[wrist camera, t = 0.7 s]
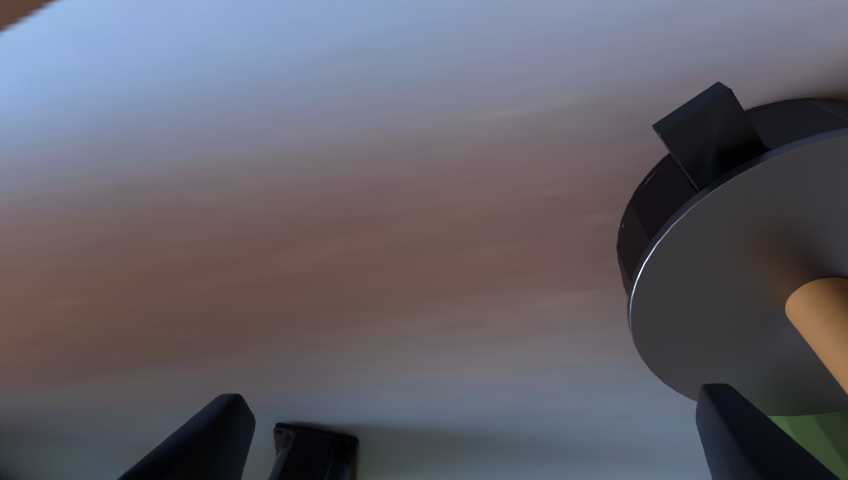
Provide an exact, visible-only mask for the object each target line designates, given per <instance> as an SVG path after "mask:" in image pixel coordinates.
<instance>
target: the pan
mask: <svg viewBox="0 0 848 480" xmlns="http://www.w3.org/2000/svg"><path fill="white" fill-rule="evenodd" d="M652 127H653V129H654V130H655V132H656V133H657V134H658V136H659V137H660V139H661V140H662V142H663V143H664V144H665V146H666V147H667V149H668V150H669V152H670V153H669V154H668V155H667V156H665V157H664V158H663V159H662V160H661V161H660V162H659V163H658V164H657V165H656V166H655V167H654V168H653V169H652V170H651V171H650V172H649V174H648V175H647V176H646V177H645V178H644V180H643V181H642V183H641V184H640V185H639V187H638V188H637V189H636V191H635V193H634V194H633V196H632V198H631V200H630V201H629V203H628V205H627V207H626V210H625V212H624V215H623V217H622V220H621V224H620V228H619V233H618V241H617V254H618V263H619V267H620V270H621V274H622V280H623V285H624V288H625V290H626V293H627V296H628V292H629V289H630V285H631V281H632V278H633V274H634V272H635V270H636V267H637V265H638V263H639V261H640V259H641V256H642V255H643V253H644V252H645V250H646V248H647V247H648V245H649V244H650V242H651V240H652V239H653V238H654V236H655V235H656V234H657V233H658V231H659V230H660V229H661V228H662V227H663V225H664V224H665V223H666V222H667V221H668V219H670V218H671V217H672V216H673V215H674V214H675V213H676V212H677V211H678V210H679V209H680V208H681V207H682V206H683V205H684V204H685V203H686V202H687V201H689V200H690V199H691V198H692V197H694V196H695V195H696V194H698V193H699V192H700V191H701V190H703V189H704V188H705V187H706V186H708V185H709V184H711V183H712V182H714V181H715V180H717V179H719V178H720V177H722V176H723V175H725V174H726V173H728V172H730V171H731V170H733V169H734V168H736V167H738V166H740V165H742V164H744V163H746V162H748V161H750V160H752V159H754V158H756V157H758V156H760V155H762V154H764V153H767V152H769V151H772V150H774V149H777V148H779V147H782V146H784V145H787V144H789V143H792V142H795V141H798V140H801V139H805V138H808V137H811V136H815V135H818V134H821V133H825V132H829V131H834V130H840V129H845V128H848V101H844V100H837V99H823V98H806V99H797V100H787V101H781V102H776V103H771V104H767V105H762V106H758V107H755V108H752V109H749V110H746V111H744V110H743V108H742V107H741V105H740V103H739V102H738V100H737V98H736V97H735V95H734V93H733V92H732V90H731V89H730V88H728V87H727V86H725V85H723V84H722V83H720V82H717V83H715V84H714V85H712V86H711V87H709V88H708V89H706V90H705V91H703V92H702V93H700V94H699V95H697V96H696V97H694V98H693V99H691V100H690V101H688V102H687V103H685V104H684V105H682V106H681V107H679V108H678V109H676V110H675V111H673V112H672V113H670V114H669V115H667V116H666V117H664V118H663V119H661V120H660V121H658V122H657V123H655V124H654V125H653V126H652Z"/></svg>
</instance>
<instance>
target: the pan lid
mask: <svg viewBox="0 0 848 480" xmlns="http://www.w3.org/2000/svg"><path fill="white" fill-rule="evenodd" d="M627 315H628V325H629V328H630V332H631V335H632V338H633V341H634V344H635V347H636V349H637V351H638V353H639V355H640V356H641V358H642V360H643V361H644V362H645V364H646V365H647V366H648V368H649V369H650V370H651V371H652V372H653V373H654V374H655V375H656V376H657V377H658V378H659V379H660V380H661V381H662V382H664V383H665V384H666V385H668V386H669V387H671V388H672V389H674V390H675V391H676V392H678V393H680V394H682V395H684V396H686V397H688V398H690V399H692V400H695V401H697V402H698V396H699V390H700V387H701V386H702V385H703V384H709V383H726V384H729V385H731V386H732V387H734V388H735V389H736V390H737V391H738V392H739V393H741V394H742V395H743V396H744V397H745V398H746V399H748V400H749V401H750V402H751V403H752V404H753V405H755V406H756V407H757V408H758V409H759V410H760V411H762V412H763V413H764V414H765V415H766V416H806V415H817V414H825V413H833V412H839V411H844V410H848V128H845V129H840V130H834V131H829V132H825V133H821V134H818V135H815V136H811V137H808V138H805V139H801V140H798V141H795V142H792V143H789V144H787V145H784V146H782V147H779V148H777V149H774V150H772V151H769V152H767V153H764V154H762V155H760V156H758V157H756V158H754V159H752V160H750V161H748V162H746V163H744V164H742V165H740V166H738V167H736V168H734V169H733V170H731V171H730V172H728V173H726V174H725V175H723V176H722V177H720V178H719V179H717V180H715V181H714V182H712V183H711V184H709V185H708V186H706V187H705V188H704V189H703V190H701V191H700V192H699V193H698V194H696V195H695V196H694V197H692V198H691V199H690V200H689V201H687V202H686V203H685V204H684V205H683V206H682V207H681V208H680V209H679V210H678V211H677V212H676V213H675V214H674V215H673V216H672V217H671V218H670V219H668V221H667V222H666V223H665V224H664V225H663V227H662V228H661V229H660V230H659V231H658V233H657V234H656V235H655V236H654V238H653V239H652V240H651V242H650V244H649V245H648V247H647V248H646V250H645V252H644V253H643V255H642V256H641V259H640V261H639V263H638V265H637V267H636V270H635V272H634V274H633V278H632V281H631V285H630V289H629V292H628V303H627Z"/></svg>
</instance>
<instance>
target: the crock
mask: <svg viewBox="0 0 848 480" xmlns="http://www.w3.org/2000/svg"><path fill="white" fill-rule="evenodd" d="M769 418H770V419H771V420H772V421H773V422H774V423H776V424H777V425H778V426H779V427H780V428H781V429H783V430H784V431H785V432H786V433H787V434H788V435H790V436H791V437H792V438H793V439H794V440H795V441H797V442H798V443H799V444H800V445H801V446H802V447H804V448H805V449H806V450H807V451H808V452H809V453H811V454H812V455H813V456H814V457H815V458H816V459H818V460H819V461H820V462H821V463H822V464H823V465H825V466H826V467H827V468H828V469H829V470H830V471H832V472H833V473H834V474H835V475H836V476H837V477H839V478H840V479H841V480H848V410H844V411H839V412H833V413H825V414H817V415H806V416H770V417H769Z"/></svg>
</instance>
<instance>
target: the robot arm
mask: <svg viewBox="0 0 848 480" xmlns="http://www.w3.org/2000/svg"><path fill="white" fill-rule="evenodd" d="M255 424H256V423H255V417H254V415H253V413H252V411H251V410H250V408H249V406H248V405H247V403H246V401H245V400H244V398H243V397H242V396H241V395H240V394H237V393H230V394H221V395H219V396H218V397H216V398H215V399H214V400H213V401H211V402H210V403H209V404H208V405H207V406H205V407H204V408H203V409H202V410H201V411H199V412H198V413H197V414H196V415H195V416H193V417H192V418H191V419H190V420H189V421H187V422H186V423H185V424H184V425H183V426H181V427H180V428H179V429H178V430H176V431H175V432H174V433H173V434H172V435H170V436H169V437H168V438H167V439H166V440H164V441H163V442H162V443H161V444H160V445H158V446H157V447H156V448H155V449H154V450H152V451H151V452H150V453H149V454H148V455H146V456H145V457H144V458H143V459H141V460H140V461H139V462H138V463H137V464H135V465H134V466H133V467H132V468H131V469H129V470H128V471H127V472H126V473H125V474H123V475H122V476H121V477H120V478H119V479H117V480H241V478H242V474H243V470H244V467H245V463H246V460H247V456H248V452H249V449H250V445H251V441H252V438H253V434H254V431H255ZM696 424H697V429H698V432H699V435H700V439H701V442H702V446H703V449H704V453H705V456H706V459H707V463H708V466H709V470H710V473H711V477H712V480H841V479H840V478H839V477H837V476H836V475H835V474H834V473H833V472H832V471H830V470H829V469H828V468H827V467H826V466H825V465H823V464H822V463H821V462H820V461H819V460H818V459H816V458H815V457H814V456H813V455H812V454H811V453H809V452H808V451H807V450H806V449H805V448H804V447H802V446H801V445H800V444H799V443H798V442H797V441H795V440H794V439H793V438H792V437H791V436H790V435H788V434H787V433H786V432H785V431H784V430H783V429H781V428H780V427H779V426H778V425H777V424H776V423H774V422H773V421H772V420H771V419H770V418H769V417H767V416H766V415H765V414H764V413H763V412H762V411H760V410H759V409H758V408H757V407H756V406H755V405H753V404H752V403H751V402H750V401H749V400H748V399H746V398H745V397H744V396H743V395H742V394H741V393H739V392H738V391H737V390H736V389H735V388H734V387H732V386H731V385H729V384H726V383H709V384H703V385H702V386H701V387H700V390H699V396H698V402H697V408H696ZM273 433H274V441H275V449H276V457H277V459H276V461H275V463H274V465H273V468H272V470H271V472H270V475H269V477H268V479H267V480H357V474H358V453H359V440H358V439H356V438H354V437H350V436H345V435H340V434H334V433H329V432H324V431H319V430H314V429H309V428H303V427H298V426H293V425H288V424H283V423H277V424H276V425H275V427H274V429H273Z"/></svg>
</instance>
